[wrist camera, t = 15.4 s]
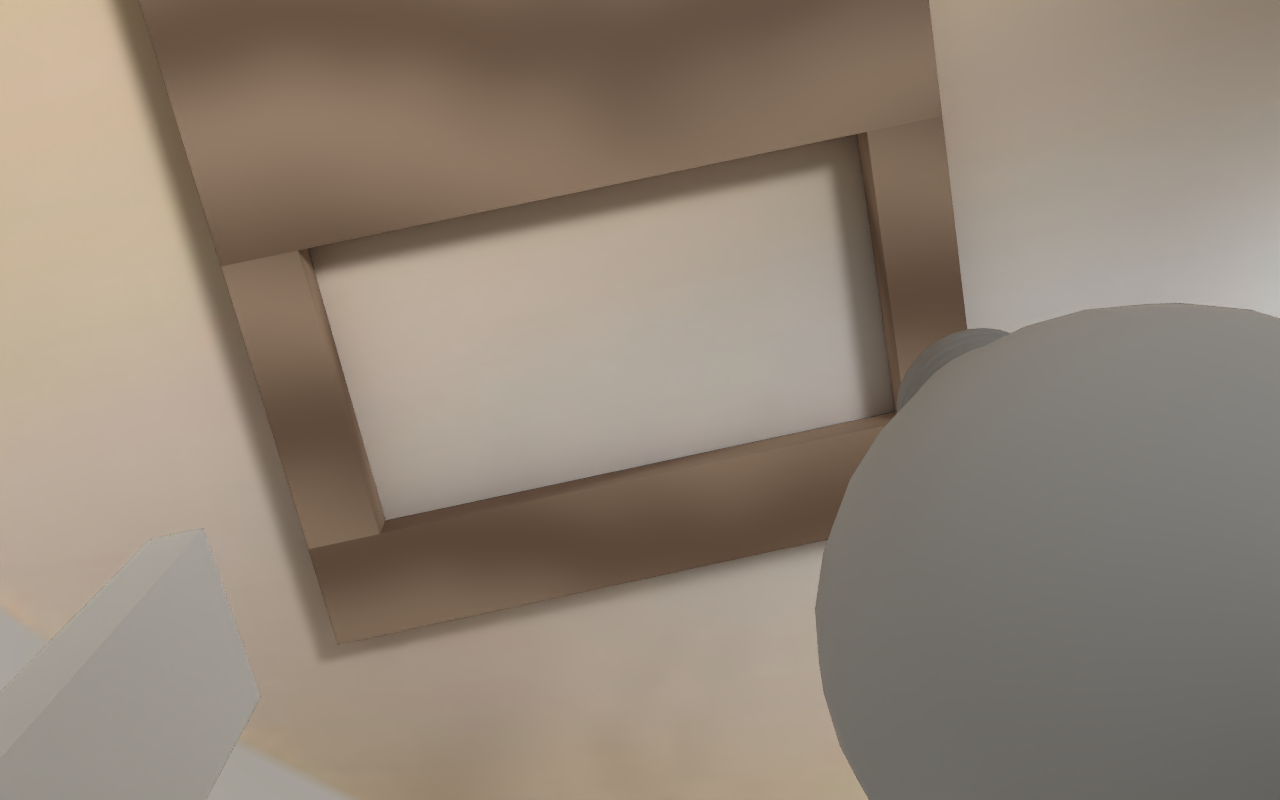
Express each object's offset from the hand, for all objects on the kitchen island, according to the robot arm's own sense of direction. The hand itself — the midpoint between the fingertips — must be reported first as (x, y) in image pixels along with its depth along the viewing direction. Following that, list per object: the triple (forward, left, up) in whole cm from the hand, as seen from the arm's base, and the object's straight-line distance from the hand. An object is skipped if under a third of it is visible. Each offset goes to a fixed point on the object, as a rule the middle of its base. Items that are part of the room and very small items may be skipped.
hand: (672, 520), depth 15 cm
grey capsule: (0, +5, -3) cm, 6 cm away
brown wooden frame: (-3, 0, -15) cm, 15 cm away
